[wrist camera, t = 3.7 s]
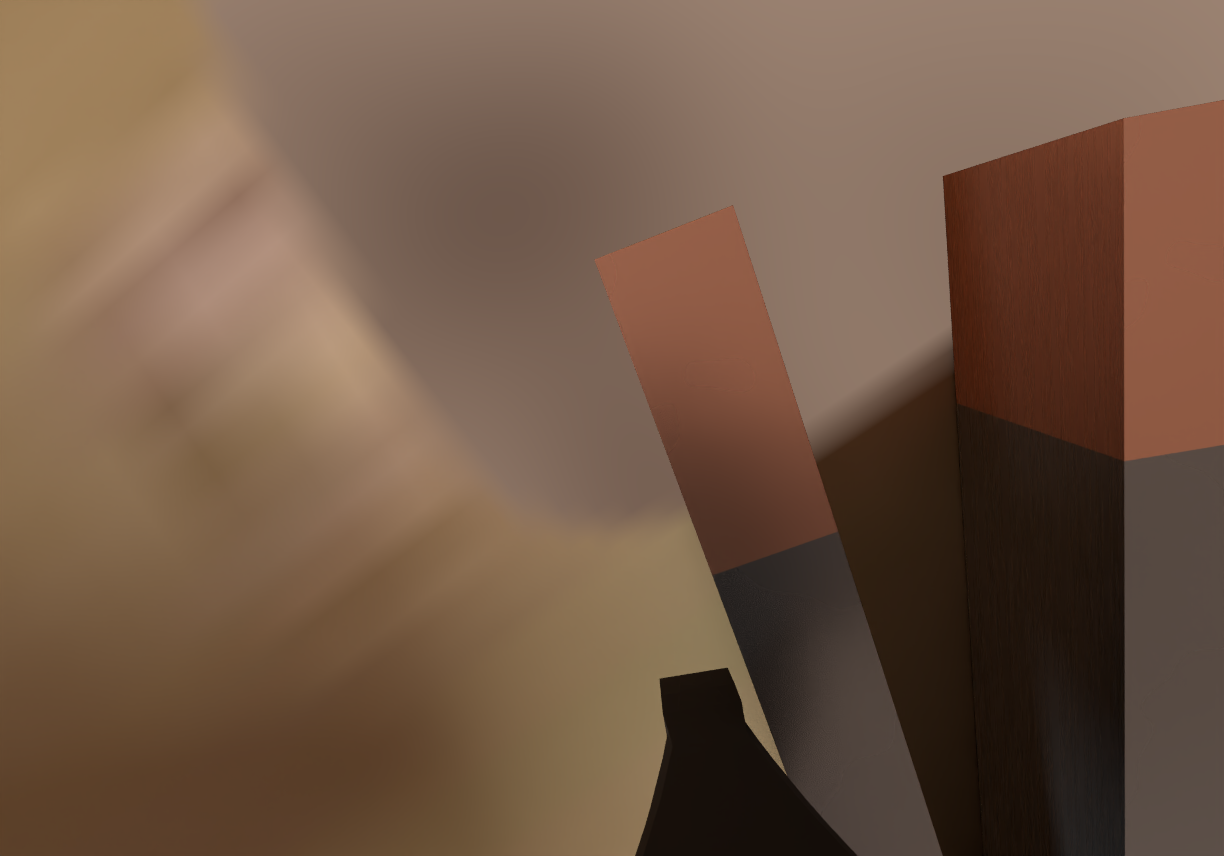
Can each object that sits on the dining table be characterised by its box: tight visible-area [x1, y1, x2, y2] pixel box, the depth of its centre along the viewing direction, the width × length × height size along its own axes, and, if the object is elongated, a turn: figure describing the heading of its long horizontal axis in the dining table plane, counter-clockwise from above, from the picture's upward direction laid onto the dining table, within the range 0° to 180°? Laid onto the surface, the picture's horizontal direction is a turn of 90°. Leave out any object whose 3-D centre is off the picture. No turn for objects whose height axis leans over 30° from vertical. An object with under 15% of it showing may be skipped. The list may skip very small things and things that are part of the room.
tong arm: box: [595, 205, 943, 856], centre depth 8 cm, size 16×3×3 cm, turn 21°
